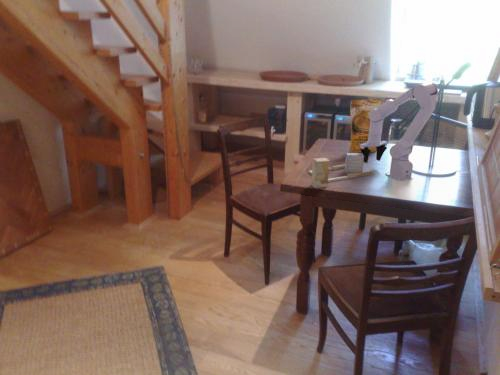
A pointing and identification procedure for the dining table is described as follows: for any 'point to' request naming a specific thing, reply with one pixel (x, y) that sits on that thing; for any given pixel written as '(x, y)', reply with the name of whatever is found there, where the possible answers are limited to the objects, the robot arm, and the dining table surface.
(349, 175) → the pair of tan bars
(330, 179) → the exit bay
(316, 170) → the skincare box
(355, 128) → the pancake mix bag
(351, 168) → the medicine box
